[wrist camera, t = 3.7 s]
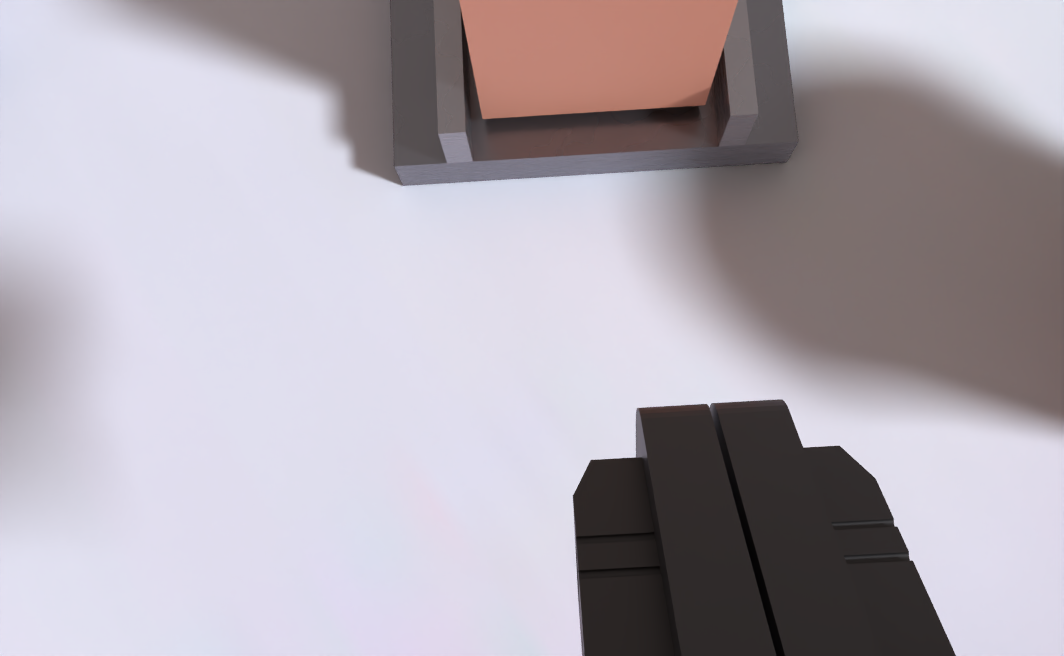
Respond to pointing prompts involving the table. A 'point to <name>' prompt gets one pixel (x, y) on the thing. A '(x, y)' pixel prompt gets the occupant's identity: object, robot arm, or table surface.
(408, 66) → the rail base
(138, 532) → the table surface
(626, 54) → the salmon pink block
